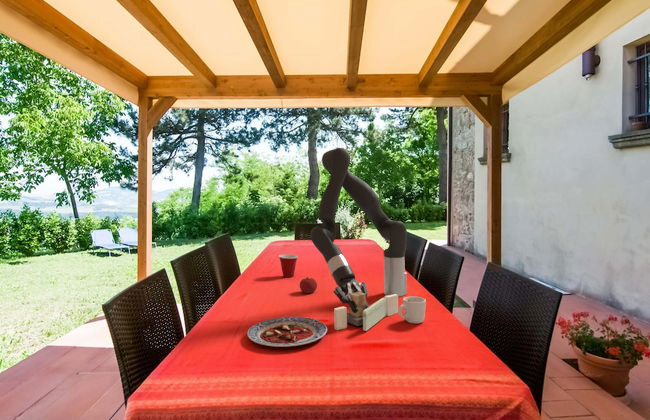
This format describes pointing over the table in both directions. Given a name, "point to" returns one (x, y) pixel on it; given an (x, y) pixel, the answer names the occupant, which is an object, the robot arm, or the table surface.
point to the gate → (374, 313)
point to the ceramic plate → (287, 331)
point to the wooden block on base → (361, 305)
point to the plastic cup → (288, 264)
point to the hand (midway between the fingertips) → (361, 310)
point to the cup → (413, 309)
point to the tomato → (308, 285)
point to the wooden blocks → (341, 312)
